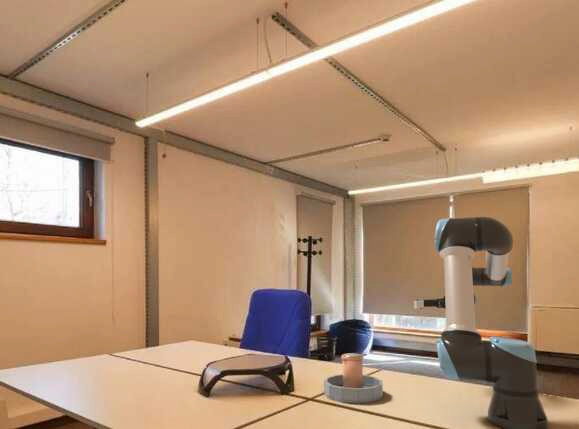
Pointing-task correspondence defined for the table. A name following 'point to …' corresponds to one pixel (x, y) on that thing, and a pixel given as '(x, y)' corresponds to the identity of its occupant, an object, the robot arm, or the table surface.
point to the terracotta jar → (352, 370)
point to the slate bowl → (353, 390)
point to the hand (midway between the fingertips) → (432, 305)
